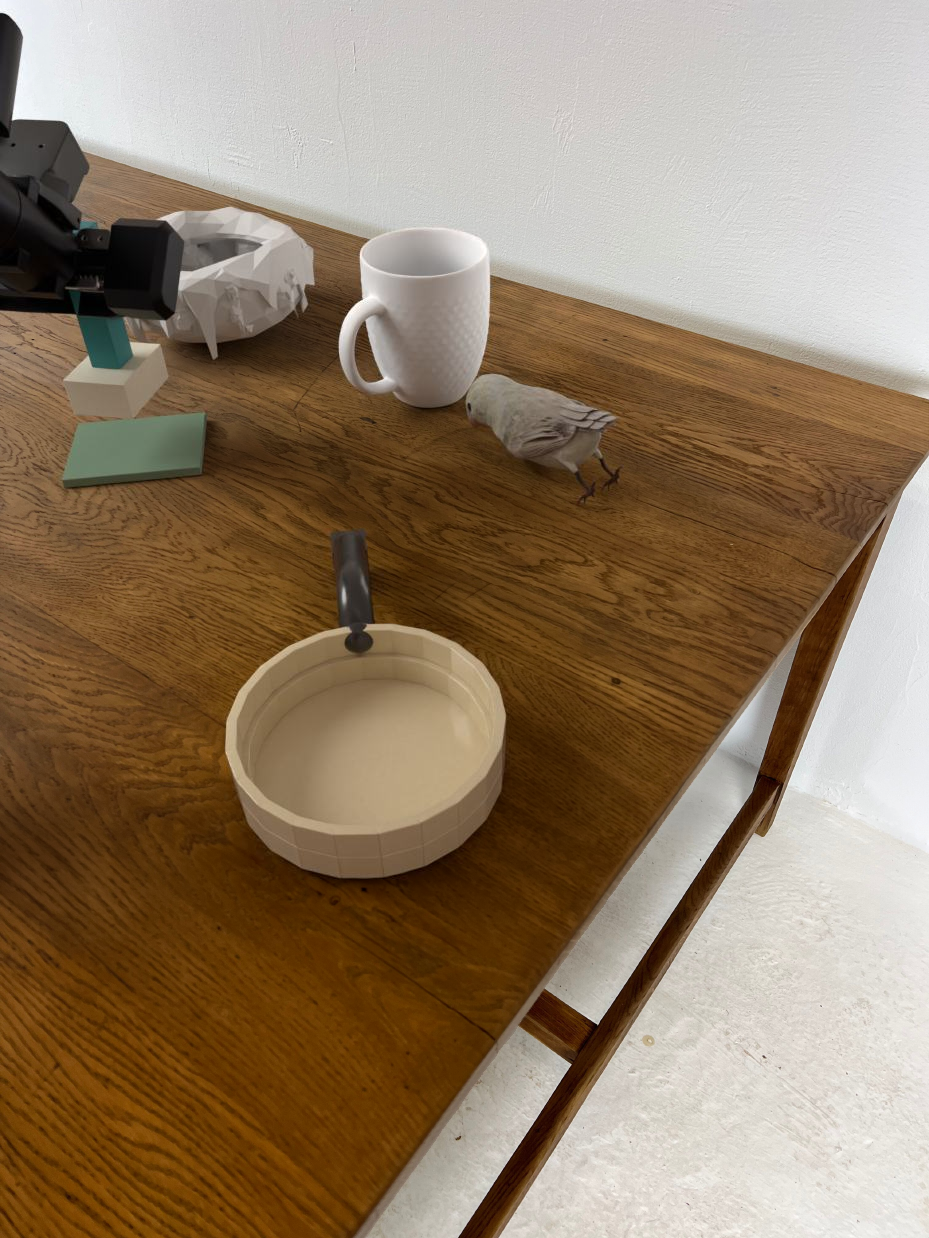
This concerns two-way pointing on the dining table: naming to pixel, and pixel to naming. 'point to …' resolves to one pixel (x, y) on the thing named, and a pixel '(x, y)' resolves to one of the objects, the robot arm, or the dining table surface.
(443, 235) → the mug
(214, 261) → the bowl
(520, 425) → the decorative bird
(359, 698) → the pan
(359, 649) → the pan handle
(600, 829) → the dining table surface
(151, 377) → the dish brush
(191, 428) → the mat
